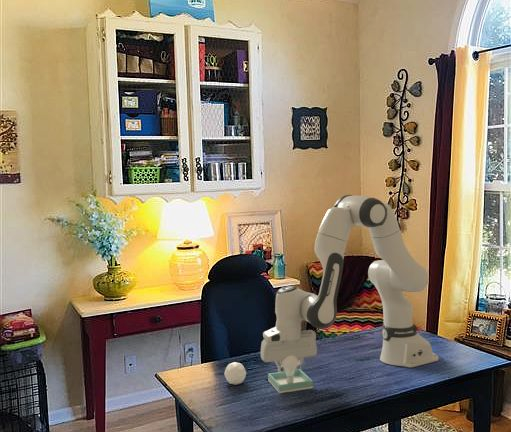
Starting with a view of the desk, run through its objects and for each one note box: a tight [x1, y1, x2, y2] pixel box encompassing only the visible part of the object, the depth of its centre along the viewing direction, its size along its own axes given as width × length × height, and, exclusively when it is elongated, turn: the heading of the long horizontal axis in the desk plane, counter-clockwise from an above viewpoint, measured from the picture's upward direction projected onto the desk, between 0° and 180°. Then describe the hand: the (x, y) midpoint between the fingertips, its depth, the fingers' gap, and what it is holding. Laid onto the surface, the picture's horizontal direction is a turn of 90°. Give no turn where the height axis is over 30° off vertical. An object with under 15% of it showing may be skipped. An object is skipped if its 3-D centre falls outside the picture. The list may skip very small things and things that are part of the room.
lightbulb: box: [279, 355, 299, 383], centre depth 204 cm, size 6×6×11 cm
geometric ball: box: [224, 361, 247, 386], centre depth 207 cm, size 8×8×8 cm
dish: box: [267, 369, 314, 394], centre depth 205 cm, size 12×12×3 cm
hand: (289, 370), depth 205 cm, fingers closed on lightbulb, 5 cm apart
